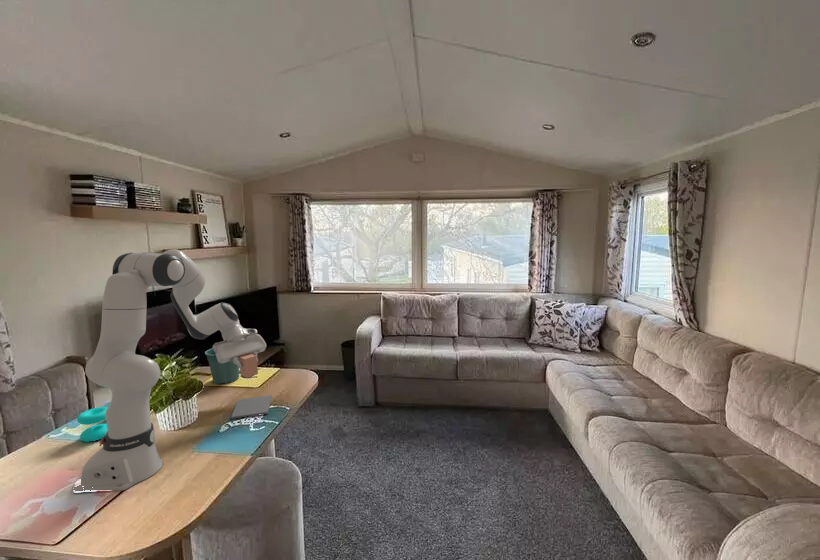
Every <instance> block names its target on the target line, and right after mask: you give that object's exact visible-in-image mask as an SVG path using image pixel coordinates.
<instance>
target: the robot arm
mask: <svg viewBox="0 0 820 560" xmlns="http://www.w3.org/2000/svg"><path fill="white" fill-rule="evenodd" d="M205 285H206V277H205V274H204V272H203V271H202V269H201V268H200V267H199V266H198V265H197V263H195V262H194V260H193V259H191V258H190V257H189V256H188V255H187V254H186V253H185V252H184V251H181V250H180V249H174V248H173V249H172V248H171V249H167V250H164V251H163V252H162V253H158V252H157V253H156V252H146V251H144V252H126V253H123V254H121V255H119V256H118V257H117V258H116V259H115V261H114V262H113V266H112V275H110V276H109V277H108V278H107V280H106V284H105V287H104V292H103V296H102V307H101V308H102V309H101V328H100V335H99V340H98V343H97V345H96V348H95V351H94V353H93V355H92V356H91V357H90V358H89V359H88V361H87V362H86V365H85V368H84V369H85V370H84V371H85V376H87V378H88V379H89V380H90V381H91V382H93V383H94V384H95V385H98V386H100V387H103V388H109V389H110V391H111V400H110V401H111V402H110V404H109V406H108V408H107V410H106V413H105V416H106V419H105V421H106V423H105V424H107V430H108V432H106V435H105V436H104V437H103V438H102V439H101V440H99V442H98V443H99V447H100V449H98V451H96V452H95V453H93V455H92V456H90V458H89V459H88V460H87V461H86V462H85V463H84V465H83V468H82V469H81V475H80V476H79V478H78V479H81V485H79V486H77V487H74V489H73V488H72V491H73V490H75V491H83V490H84V491H85V490H90V491H91V490H119V491H118V492H120V491H121V492H122V491H125V490H127V489H129V488H130V487H132V486H134V485H136V484H137V483H140V482H142V481H144V480H146V479H148V478H150V477H152V476H154V475H155V474H156V473H157V472H158V471H159V470H161V468H162V466H163V461H162V459H161V456H160V455H159V452H158V450H157V449H158V448H157V447H156V446H157V445H156V442H155V441H156V433H155V429H154V423H153V422H152V419H151V417H152V416H151V409H150V397H151V394H152V393H151V392H152V389H153V387H155V385H156V384H157V382H158V381H159V379H160V376H161V368H160V365H159V364H158V363H157V362H156V361H155V360H153V359H151V358H150V357H148V356H145V355H143V354H142V355H141V354H137V353H136V349H137V346H138V344H139V341H140V339H141V338H142V337H143V336H144V335H145V334H146V330H147V309H148V308H147V305H148V304H147V302H148V301H147V292H148V290H149V288H150V287H171V288H172V292H171V293H170V300H171V302H172V304H173V306H174V308H175V309H176V312H177V313H178V315H179V316H180V318H181V320H182V321H183V322H184V325H185V326H186V329H187V331H188V333H189V336H191V337H192V338H193V339H196V340H206V338H208V337H209V336H211V335H212V334H214V333H216V332H217V331H220V333H221V337H222V339H223V340H222V341H219V342H214V344H213V345H212V347H211V349H212V348H213V350H214V352H215V353H216V357H217V360H218V362H219V363H221V364H222V363H225V362H229V361H233V363H235V364H236V365H238V367H239V369H240V368H241V367H243V363H242V362H239V361H238V360H237V359H239V357H240V356H243V355H247V354H253V355H255V356H256V360H257V363H258V362H259V359H258V354H259V353H262V352H263V353H264V352H265V351H266V348H267V343H266V341H265V339H264V338H263V336H261V335H260V334H258V330H257V329H256V328H245V327H243V326H242V325H241V323H240V320H239V315H238V313H237V311H236V309H235V308H234V306H233V305H232V304H230V303H228V302H227V303H226V302H220V303H218V304H217V303H216V304H214V305H213V306H211V307H209V308H207V309H206V310H204V311H202V312H200V313H198V314H193V312H192V310H191V309H190V306H189V305H190V304H191V303H192V302H193V301H194V300H195V299H196V298H197V297H198V296H199V295H200V294H201V292H203V289H205ZM101 446H102V447H101ZM82 486H84V487H82ZM92 487H93V488H92ZM83 488H84V489H83Z"/></svg>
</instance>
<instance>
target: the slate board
mask: <svg viewBox="0 0 820 560" xmlns="http://www.w3.org/2000/svg"><path fill="white" fill-rule="evenodd" d="M272 398H273V397H272V395H262V396H257V397H255V396H254V397H247V398H240V399H238V400H237V402H236V404H235V407H234V409H233V411H232V413H231V416H230V419H231V420H237V419H236V418H238V419H242V418H241V417H245V418H248V417H247V416H252V417H254V416H253V415H259V414H266V415H269V412H268V411H270V406H271V402H272ZM259 416H260V415H259Z"/></svg>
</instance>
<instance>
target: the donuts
mask: <svg viewBox="0 0 820 560" xmlns="http://www.w3.org/2000/svg"><path fill="white" fill-rule="evenodd" d="M108 407H109V406H108ZM108 407H107V406H99V407H93V408H90V409H87V410H85V411H84V412H81V413H80V414H78V416H77V419H76V420H77V422H78V423H79V424H81V425H84V426H85V425H88V426H90V427H88V428H86V429H84V430H83V431H82V432H81V433H80V436H79V439H80V440H81V442H83V441H84V442H83V443H90V442H89V441H94V440H98V441H100V440H99V439H101V440H102V438H103V437H104V436H105V435H106V432H108V430H107V423H101V422H104V421H106V416H105V413H106V410H107V408H108ZM98 423H99V424H98ZM91 425H92V426H91ZM94 442H95V441H94Z"/></svg>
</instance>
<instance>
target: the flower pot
mask: <svg viewBox="0 0 820 560" xmlns="http://www.w3.org/2000/svg"><path fill="white" fill-rule="evenodd" d="M204 355H205V356H206V358H207V361H208V366H209V369H210V373H211V377H212V381H213V384H216V385H221V384H224V383H225V384H228V383H229V382H230V383H233V382H235V381H237V380H238V379H239V378H240V368H239V367H238V365H236V364H235V363H233V361H229V362H225V363H222V364H221V363H219V362H218V360H217V357H216V353H215V352H214V350H213V348H212V347H211V348H210V349H208V350H206V351H204ZM237 360H238V361H239V359H237ZM238 377H239V378H238ZM232 381H233V382H232ZM230 383H229V384H230Z"/></svg>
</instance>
